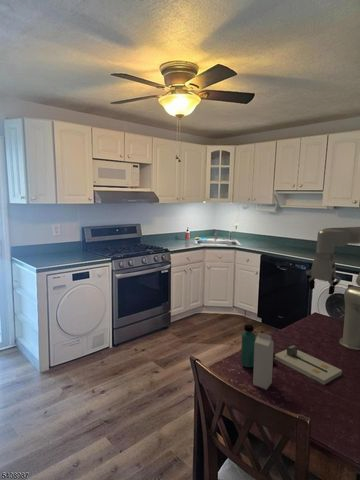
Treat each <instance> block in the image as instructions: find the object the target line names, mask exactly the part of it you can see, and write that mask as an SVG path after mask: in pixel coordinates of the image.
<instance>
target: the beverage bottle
mask: <svg viewBox="0 0 360 480" xmlns="http://www.w3.org/2000/svg"><path fill="white" fill-rule="evenodd" d="M243 330H244V331H243V332H242V333H241V352H240V353H241V354H240V355H241V357H240V363H241V365H242V367H243V366H244V367H246V368H254V345H255V340H256V338H257V336H256V334H255V333H254V325H252V324H250V323H248V324H245V325H244V328H243Z"/></svg>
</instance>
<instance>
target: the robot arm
mask: <svg viewBox="0 0 360 480" xmlns="http://www.w3.org/2000/svg"><path fill="white" fill-rule="evenodd" d="M316 239H317V240H316V247H315V248H316V250H315V257H314V259H313V262H312V265H311V269H308V270H305V274H306V278H307V280H308V281H309V283H308V284H309V290H313V289H315V288H316V287H315V285H316V280H320V281H324V282H328V284H329V287H328V295H334V293H335V289H336V288H335V287H336V286H337V285H338V284H339V283H341V281H342V277H341V276H339V275H338V274H336V270H337V268H336V267H337V266H336V260H335V259H337V256H336V255H335V254H334V253H335V246H339V247H345V246H347V245H349V244H351V245H358V244H360V226H350V227H349V226H347V227H346V226H345V227H327V228H323V229H320V230H319V231H318V232H317V238H316ZM355 282H356V283H355V284H356V285H357V286H354V285H353V286H348V287H347V288H345V290H344V293H343V297H344V299H343V300H344V319H343V320H344V321H343V330H342V337H341V338H339V341H338V342H339V344H340V345H341V346H343V347H345V348H346V349H350V350H353V351H354V350H355V351H360V272H359V273H358V275H357V276H356V279H355Z"/></svg>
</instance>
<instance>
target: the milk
mask: <svg viewBox="0 0 360 480" xmlns="http://www.w3.org/2000/svg"><path fill="white" fill-rule="evenodd" d="M274 343H275V341H274V340H273V339H272V335H269V334H265V333H262V332H257V336H256V340H255V345H254V366H253V370H252V371H253V373H252V385H253V386H256V387H258V388H261V389H263V390H266V391H267V390H268V389H269V387H270V386H271V385H272V383H273V382H272V381H273V361H274V358H273V357H274V356H273V353H274Z"/></svg>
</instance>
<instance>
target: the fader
mask: <svg viewBox="0 0 360 480" xmlns="http://www.w3.org/2000/svg"><path fill="white" fill-rule="evenodd" d="M286 350H287V354H288V355H290V356H294V355H296V354H297V350H298V347H297V346H296V345H295V344H294V345H293V344H291V345H288V346H286Z"/></svg>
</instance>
